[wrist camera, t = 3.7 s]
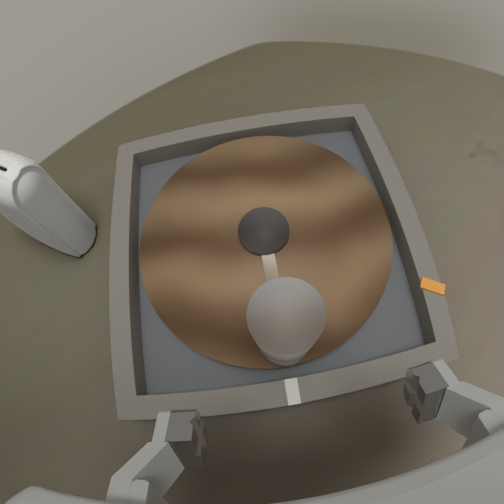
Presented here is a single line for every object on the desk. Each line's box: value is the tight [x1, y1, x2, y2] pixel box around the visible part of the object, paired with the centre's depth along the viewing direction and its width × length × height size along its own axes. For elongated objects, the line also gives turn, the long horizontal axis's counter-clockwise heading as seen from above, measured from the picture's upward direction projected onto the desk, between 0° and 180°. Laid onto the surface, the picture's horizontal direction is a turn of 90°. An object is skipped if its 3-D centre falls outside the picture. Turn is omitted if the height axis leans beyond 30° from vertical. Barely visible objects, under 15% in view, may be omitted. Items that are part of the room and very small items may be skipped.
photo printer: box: [0, 150, 96, 257], centre depth 23 cm, size 10×4×12 cm, turn 69°
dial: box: [139, 136, 392, 370], centre depth 20 cm, size 19×19×11 cm
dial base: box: [109, 104, 460, 420], centre depth 25 cm, size 24×24×3 cm
